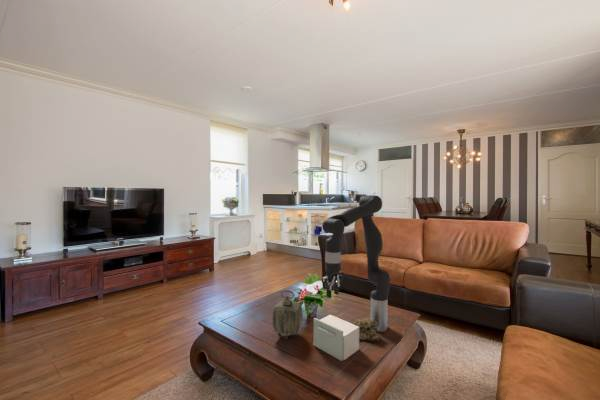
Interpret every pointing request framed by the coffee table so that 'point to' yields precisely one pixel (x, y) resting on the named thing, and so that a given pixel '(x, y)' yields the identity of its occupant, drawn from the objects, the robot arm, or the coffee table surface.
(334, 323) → the case
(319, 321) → the door
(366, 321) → the mineral specimen
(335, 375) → the coffee table surface
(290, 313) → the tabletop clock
